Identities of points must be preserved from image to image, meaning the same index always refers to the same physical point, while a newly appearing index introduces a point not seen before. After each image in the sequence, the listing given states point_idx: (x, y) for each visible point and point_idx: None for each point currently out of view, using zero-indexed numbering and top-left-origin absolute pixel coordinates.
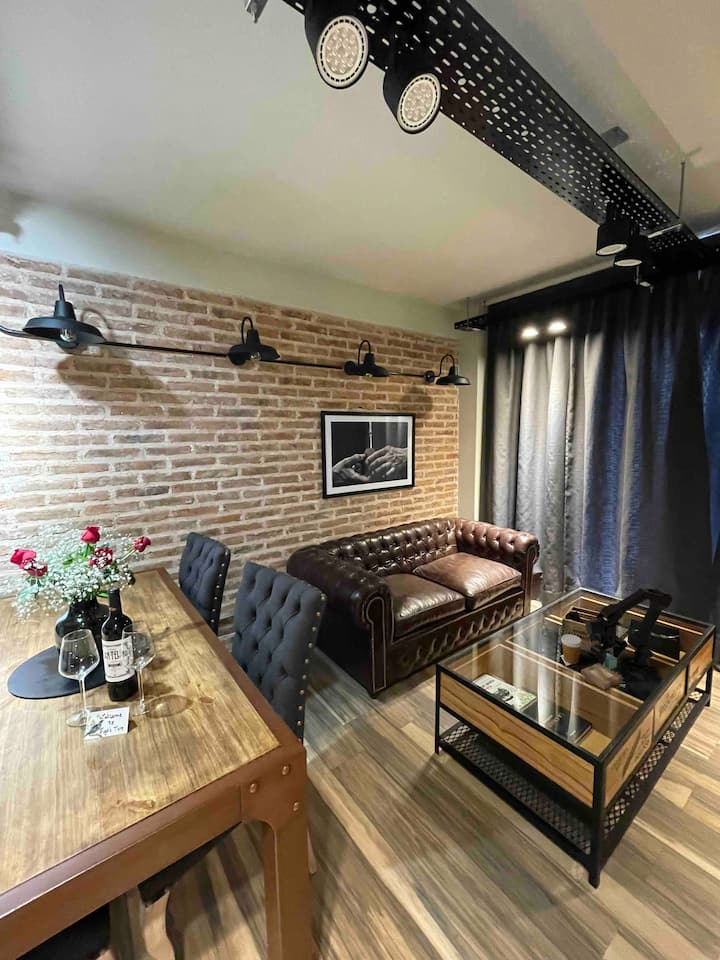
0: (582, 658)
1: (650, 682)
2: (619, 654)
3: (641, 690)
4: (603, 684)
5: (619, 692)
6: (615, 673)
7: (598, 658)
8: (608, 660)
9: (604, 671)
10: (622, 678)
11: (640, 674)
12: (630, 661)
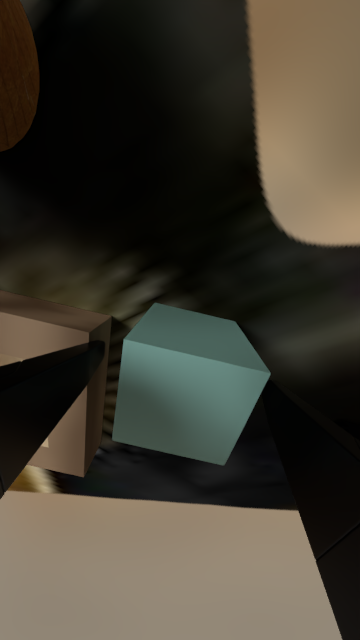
0: (115, 136)
1: (202, 502)
2: (302, 495)
3: (116, 493)
4: None
5: None
6: (78, 447)
7: (27, 363)
8: (113, 431)
9: None
10: (88, 465)
11: (236, 471)
12: (342, 426)
